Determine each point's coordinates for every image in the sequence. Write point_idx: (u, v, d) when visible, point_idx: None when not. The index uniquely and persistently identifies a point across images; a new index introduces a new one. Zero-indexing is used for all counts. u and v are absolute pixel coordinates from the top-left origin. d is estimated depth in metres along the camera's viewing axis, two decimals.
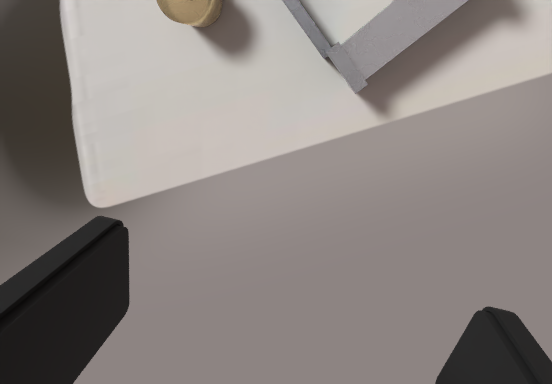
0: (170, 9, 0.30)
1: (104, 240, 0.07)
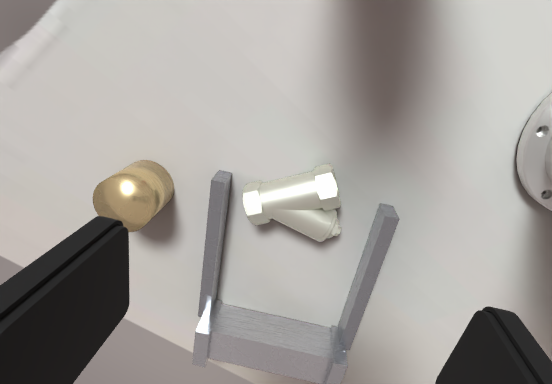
0: (101, 205, 0.27)
1: (104, 240, 0.07)
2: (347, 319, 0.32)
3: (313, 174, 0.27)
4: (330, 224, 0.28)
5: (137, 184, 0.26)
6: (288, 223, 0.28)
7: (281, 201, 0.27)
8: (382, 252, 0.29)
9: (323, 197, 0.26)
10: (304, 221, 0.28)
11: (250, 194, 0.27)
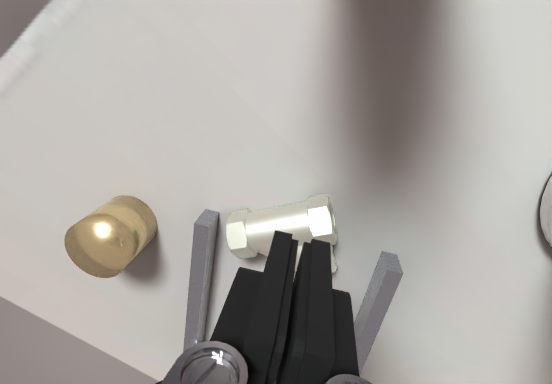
0: (73, 249, 0.25)
1: (294, 253, 0.08)
2: None
3: (306, 206, 0.23)
4: None
5: (112, 228, 0.24)
6: None
7: (269, 235, 0.24)
8: (383, 307, 0.26)
9: (316, 234, 0.23)
10: None
11: (234, 225, 0.24)
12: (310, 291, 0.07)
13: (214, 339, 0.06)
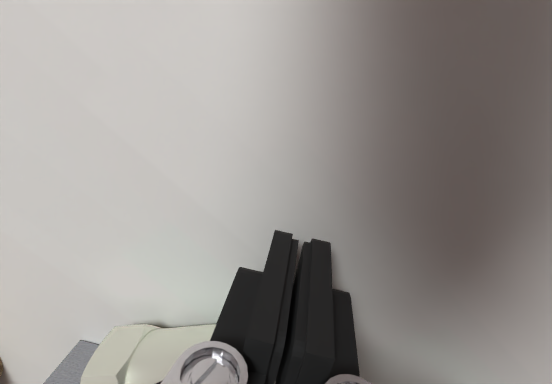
0: None
1: (294, 253, 0.08)
2: None
3: None
4: None
5: None
6: None
7: None
8: None
9: None
10: None
11: (99, 383, 0.10)
12: (310, 291, 0.07)
13: (214, 339, 0.06)
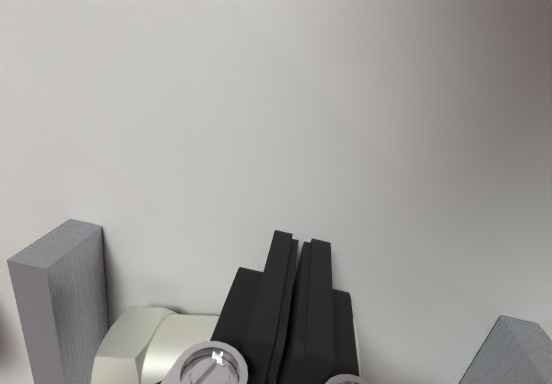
0: None
1: (294, 253, 0.08)
2: None
3: None
4: None
5: None
6: None
7: None
8: None
9: None
10: None
11: (115, 365, 0.10)
12: (310, 291, 0.07)
13: (214, 339, 0.06)
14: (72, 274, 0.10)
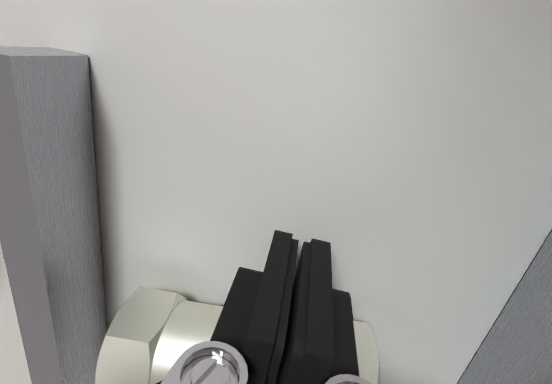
0: None
1: (294, 253, 0.08)
2: None
3: None
4: None
5: None
6: None
7: None
8: None
9: None
10: None
11: (126, 347, 0.09)
12: (310, 291, 0.07)
13: (214, 339, 0.06)
14: (48, 95, 0.08)
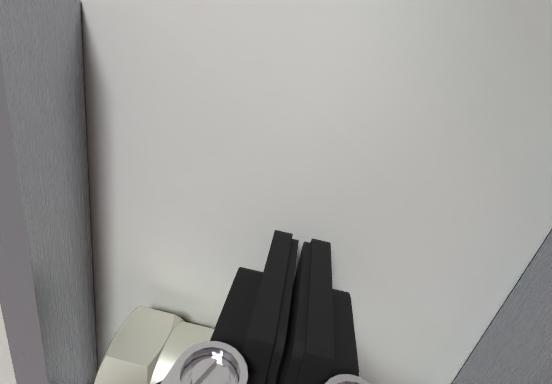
0: None
1: (294, 253, 0.08)
2: None
3: None
4: None
5: None
6: None
7: None
8: None
9: None
10: None
11: (124, 368, 0.10)
12: (310, 291, 0.07)
13: (214, 339, 0.06)
14: (35, 35, 0.07)
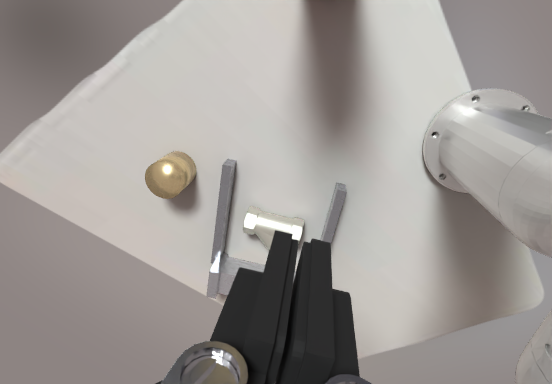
0: (150, 180, 0.41)
1: (294, 253, 0.08)
2: None
3: (292, 222, 0.44)
4: None
5: (175, 166, 0.41)
6: (264, 241, 0.45)
7: (267, 228, 0.44)
8: (336, 215, 0.42)
9: None
10: None
11: (251, 215, 0.44)
12: (310, 291, 0.07)
13: (214, 339, 0.06)
14: (232, 170, 0.43)
